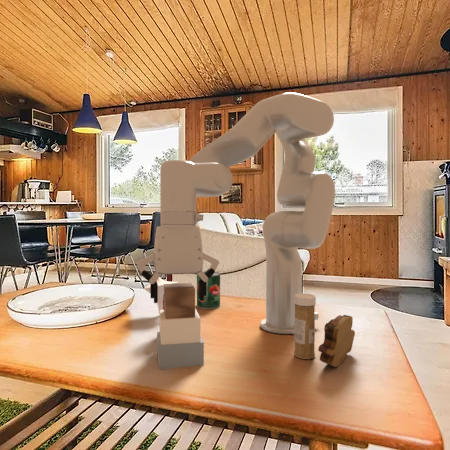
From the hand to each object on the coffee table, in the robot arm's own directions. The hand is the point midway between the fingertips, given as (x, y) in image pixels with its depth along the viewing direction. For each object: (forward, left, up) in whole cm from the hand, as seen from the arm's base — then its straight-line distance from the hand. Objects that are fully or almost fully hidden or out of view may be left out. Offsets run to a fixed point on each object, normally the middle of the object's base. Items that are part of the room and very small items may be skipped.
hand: (178, 300), depth 80 cm
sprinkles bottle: (-27, +4, -13) cm, 30 cm away
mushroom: (+2, -35, -13) cm, 37 cm away
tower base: (0, 0, -13) cm, 13 cm away
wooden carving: (-32, +9, -13) cm, 36 cm away
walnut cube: (0, 0, -3) cm, 3 cm away
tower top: (0, 0, -8) cm, 8 cm away
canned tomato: (-14, -43, -13) cm, 47 cm away
